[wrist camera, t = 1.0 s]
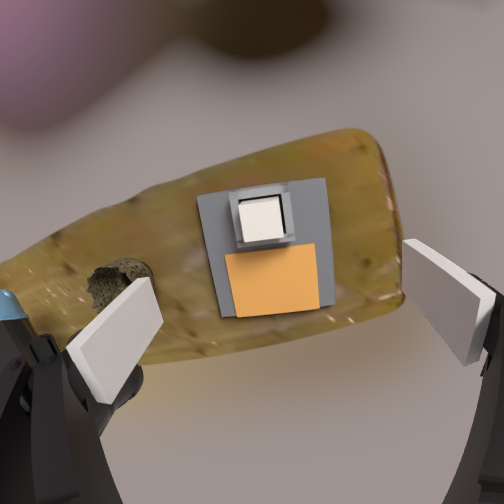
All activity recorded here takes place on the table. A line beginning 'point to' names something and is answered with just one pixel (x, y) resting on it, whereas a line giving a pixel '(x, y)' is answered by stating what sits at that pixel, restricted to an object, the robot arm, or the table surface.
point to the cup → (115, 280)
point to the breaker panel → (271, 250)
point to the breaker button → (261, 219)
